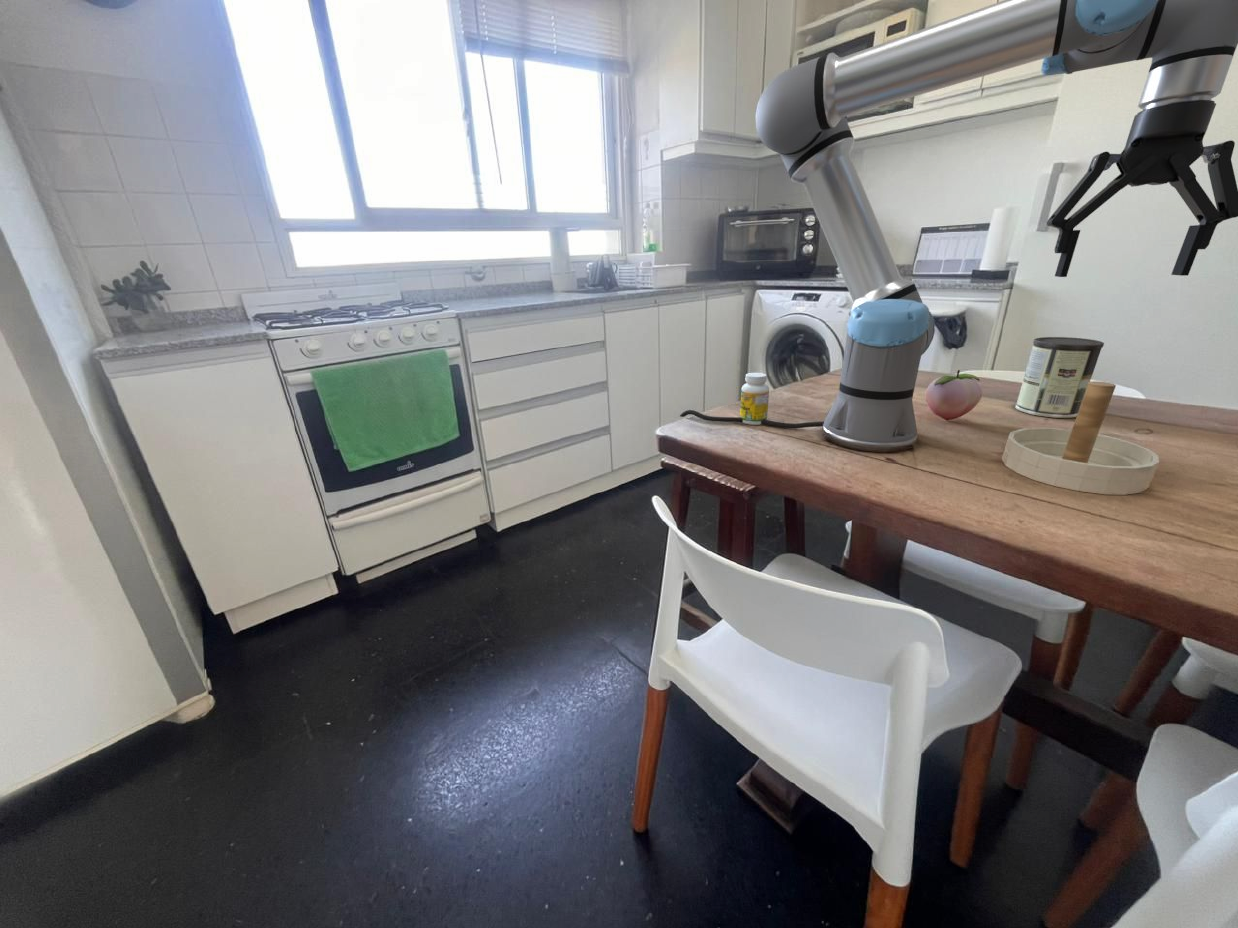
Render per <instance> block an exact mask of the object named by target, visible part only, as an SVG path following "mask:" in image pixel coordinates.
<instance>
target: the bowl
mask: <svg viewBox="0 0 1238 928" xmlns="http://www.w3.org/2000/svg"><path fill="white" fill-rule="evenodd" d="M1071 431H1072V429H1069V428H1058V427H1057V428H1056V427H1027V428H1026V427H1025V428H1018V429H1016V430H1013V431H1010V433H1009V434H1008V437H1007V440H1006V444H1005V447H1004V450H1003V454H1002V457H1001V461H1002V463H1003V464H1004V466H1005V467H1006V468H1008V469H1010V470H1011V471H1013V472H1015V473H1016V474H1018V475H1021V476H1023V477H1025V478H1027V479H1030V480H1032V481H1036V482H1039V483H1042V484H1046V485H1049V486H1051V487H1052V486H1053V487H1057V488H1061V489H1067V490H1071V491H1076V492H1082V493H1089V494H1090V493H1091V494H1097V495H1098V494H1099V495H1111V496H1112V495H1117V496H1126V495H1134V494H1139V493H1143V492H1144V491H1146V490H1148V489H1149V488H1150V486H1151V484H1152V481H1153V478H1154V476H1155V474H1156V471H1157V470H1158V467H1159V464H1160V457H1159V455H1158V454H1156V453H1155V452H1154V451H1152V450H1151V449H1149V448H1146V447H1144V446H1142V445H1139V444H1137V443H1135V442H1132V441H1128V440H1124V439H1121V438H1118V437H1115V436H1109V435H1105V434H1102V433H1101V434H1100V433H1098V436H1097V439H1096V441H1095V444H1094V447H1093V449H1092V452H1091V455H1090V458H1089V460H1088V463H1090V464H1088V463H1082V462H1077V461H1071V460H1066V459H1061V458H1063V455H1064V452H1065V449H1066V446H1067V443H1068V440H1069V437H1070V434H1071Z"/></svg>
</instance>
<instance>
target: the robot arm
mask: <svg viewBox="0 0 1238 928" xmlns="http://www.w3.org/2000/svg"><path fill="white" fill-rule="evenodd" d="M1237 47H1238V0H1001V1H999V2H995V3H992V4H990V5H988V6H984V7H982V8H979V9H976V10H973V11H971V12H967V13H964V14H962V15H959V16H956V17H953V18H950V19H948V20H944V21H942V22H939V23H936V24H933V25H930V26H928V27H925V28H922V29H919V30H916V31H912V32H911V33H908V34H904V35H902V36H899V37H896V38H893V39H890V40H888V41H884V42H882V43H880V44H876V45H873V46H871V47H868V48H865V49H862V50H860V51H859V50H858V51H857V52H854V53H851V54H847V55H845V56H842V57H840V56H839V55H837V54H836V53H835V52H829V53H826V54H823V55H821V56H819V57H815V58H812V59H809V60H808V61H807V60H806V61H805V62H802V63H799V64H796V65H794V66H792V67H790V68H787V69H785V70H783V71H781V72H780V73H779V74H777V75H776V76H775V77H774V78H773V79H772V80H771V81H770V82H769V83H768V84H767V86H766V87H765V88H764V90H763V91H762V93H761V96H760V97H759V100H758V102H757V106H756V110H755V129H756V132H757V136H758V137H759V139H760V141H761V142H762V144H763V145H764V146H765V147H766V148H768V149H769V150H771V151H773V152H775V153H777V154H779V155H780V157H781V160H782V162H783V164H784V167H785V168H786V172H787V173H788V176H789V178H790V180H791V183H794V184H797V185H802V186H803V187H804V190H805V193H806V194H807V197H808V199H809V201H810V204H811V207H812V209H813V210H814V213H815V215H816V218H817V220H818V222H819V225H820V228H821V230H822V231H823V234H824V237H825V239H826V241H827V243H828V246H829V249H830V251H831V253H832V255H833V258H834V261H835V262H836V265H837V267H838V269H839V271H840V274H841V276H842V278H843V281H844V283H845V285H846V289H847V290H848V293H849V295H850V296H851V300H852V303H851V306H850V308H849V310H848V316H849V319H848V321H847V324H846V337H845V347H844V353H843V359H842V366H841V373H840V380H839V387H838V393H837V396H836V397H835V399H834V402H833V403H832V406H831V407H830V409H829V411H828V413H827V415H826V417H825V420H824V421H823V420H821V421H808V422H807V421H806V422H798V423H796V422H795V423H791V422H790V423H789V422H780V421H774V420H769V419H767V420H762V421H761V424H760V425H766V426H770V427H776V428H784V429H803V428H804V429H805V428H817V427H822V430H821V431H822V432H821V434H822V437H823V438H824V439H826V440H827V441H829V442H830V443H833V444H835V445H837V446H839V447H844V448H847V449H852V450H856V451H863V452H871V453H874V452H875V453H895V452H896V453H897V452H903V451H906V450H909V449H912V448H913V447H914V445H915V444H916V442H917V438H918V428H917V427H918V426H917V421H916V416H915V410H914V403H913V397H914V392H915V388H916V382H917V379H918V372H919V369H920V364H921V358H922V356H923V355H924V354H925V353H926V352H927V350H928V349H929V348H930V346H931V344H932V342H933V340H934V337H935V332H936V328H935V327H936V324H935V323H936V322H935V319H934V316H933V314H932V312H931V311H930V308H929V306H927V305H926V304H925V303H923V300H922V298H921V295H920V293H919V290H918V289H917V286H916V284H915V282H914V281H912V280H909V279H906V278H904V277H902V276H901V274H900V271H899V269H898V266H897V264H896V262H895V259H894V257H893V254H892V252H891V250H890V247H889V246H888V245H889V244H888V243H887V240H886V237H885V236H884V233H883V230H882V228H881V226H880V224H879V221H878V219H877V217H876V214H875V211H874V209H873V207H872V205H871V202H870V200H869V197H868V195H867V193H866V190H865V188H864V186H863V183H862V181H861V178H860V176H859V174H858V171H857V169H856V167H855V164H854V162H853V159H852V157H851V153H852V151H853V148H854V145H855V142H856V140H855V138H854V136H853V133H852V131H851V128H850V125H849V123H848V116H852V115H856V114H859V113H862V112H866V111H869V110H873V109H876V108H881V107H883V106H886V105H887V106H888V105H890V104H893V103H896V102H901V101H903V100H907V99H910V98H914V97H917V96H921V95H924V94H927V93H931V92H934V91H938V90H941V89H944V88H947V87H948V88H949V87H951V86H955V85H959V84H962V83H965V82H969V81H972V80H975V79H978V78H982V77H986V76H989V75H992V74H996V73H999V72H1002V71H1003V72H1004V71H1007V70H1010V69H1013V68H1016V67H1020V66H1023V65H1027V64H1031V63H1034V62H1037V61H1041V60H1043V61H1042V64H1041V67H1040V71H1041V73H1042V75H1044V76H1055V75H1064V74H1065V75H1072V74H1073V73H1076V72H1082V71H1086V70H1087V71H1088V70H1091V69H1097V68H1102V67H1103V68H1104V67H1108V66H1113V65H1118V64H1124V63H1129V62H1134V61H1135V62H1136V61H1142V60H1145V59H1151V65H1150V67H1149V70H1148V73H1147V77H1146V80H1145V82H1144V86H1143V88H1142V92H1141V95H1140V98H1139V102H1138V105H1137V107H1138V108H1139V109H1140V110H1141V111H1139V112H1137V114H1136V115H1134V117H1133V120H1132V124H1131V126H1130V129H1129V133H1128V137H1127V139H1126V143H1125V146H1124V148H1123V150H1122V151H1121V153H1111V152H1109V151H1103V152H1100V153H1098V154H1096V155H1094V156H1093V157H1092V159H1091V161H1090V164H1089V166H1088V169H1087V171H1086V173H1085V174H1084V175H1083V177H1082V178H1081V179H1080V180H1079V181H1078V182H1077V183H1076V185H1075V186H1074V187H1073V189H1072V190H1071V191H1070V193H1069V194H1068V195H1067V196H1066V197H1065V198H1064V200H1063V201H1062V202H1061V203H1060V205H1059V206H1058V207H1057V208H1056V210H1055V211H1054V212H1053V213H1052V214H1051V216H1050V217H1048V219H1047V221H1046V225H1047V226H1048V227H1052V228H1055V229H1058V235H1057V239H1056V243H1055V246H1054V254H1060V257H1059V260H1058V263H1057V266H1056V269H1055V273H1054V277H1056V278H1067V276H1068V274H1069V270H1070V267H1071V263H1072V260H1073V257H1074V253H1075V251H1076V246H1077V243H1078V240H1079V236H1080V233H1081V229H1075V228H1076V227H1077V226H1078V225H1079V224H1081V223H1082V222H1083V221H1085V219H1087V218H1088V217H1089V216H1091V215H1092V214H1093V213H1094V212H1095V211H1096V210H1098V209H1099V208H1100V207H1102V205H1103V204H1105V203H1106V202H1107V201H1109V200H1110V199H1111V198H1112V197H1114V196H1115V195H1116V194H1117V193H1119V192H1120V191H1121V190H1122V189H1125V188H1126V187H1127V186H1129V187H1132V188H1133V187H1141V186H1144V185H1150V186H1160V185H1166V184H1169V185H1170V186H1171V187H1172V188H1174V189H1175V190H1176V192H1177V193H1178V195H1179V196H1180V198H1181V200H1183V202H1184V204H1185V205H1186V206H1187V207H1188V209H1189V210H1190V212H1191V214H1192V215H1193V217H1194V218H1195V219H1196V220H1197V222H1198V223H1199V224H1195V225H1189V227H1188V229H1187V232H1186V234H1185V237H1184V240H1183V242H1182V245H1181V247H1180V250H1179V253H1178V255H1177V258H1176V261H1175V264H1174V267H1173V269H1172V271H1171V276H1181V277H1183V276H1185V277H1186V276H1190V272H1191V270H1192V266H1193V264H1194V262H1195V259H1196V257H1197V255H1198V251H1199V250H1206V249H1207V248H1208V246H1209V245H1210V242H1211V240H1212V237H1213V235H1214V233H1215V230H1216V228H1217V225H1219V224H1221V223H1222V222H1224V221H1227V220H1230V219H1232V218H1233V219H1235V218H1238V186H1237V180H1236V176H1235V170H1234V167H1233V162H1232V157H1233V154H1234V148H1235V146H1236V145H1235V144H1236V142H1235V141H1234V140H1232V139H1231V140H1226V141H1223V142H1220V143H1216V144H1212V145H1205V146H1204V143H1203V142H1204V137H1205V135H1206V133H1207V131H1208V128H1209V125H1210V122H1211V120H1212V116H1213V114H1214V111H1215V108H1216V106H1217V103H1216V101H1215V100H1212V99H1214V98H1216V97H1218V96H1219V95H1220V94H1221V93H1222V90H1223V86H1224V85H1225V81H1226V80H1227V79H1226V78H1227V75H1228V73H1229V70H1230V67H1231V64H1232V61H1233V58H1234V55H1235V53H1236V50H1237ZM1200 158H1202V159H1203V163H1205V164H1207V172H1208V177H1209V181H1210V185H1211V190H1212V194H1213V198H1214V202H1215V205H1214V203H1213V201H1212V200H1211V198H1210V197H1209V196H1208V194H1207V193H1206V191H1205V190H1204V188H1202V186H1201V184H1200V183H1199V181H1198V180H1197V175H1196V174H1195V172H1194V171H1193V169H1192V168H1191V166H1192V165H1193V164H1194V163H1195V162H1196V161H1197V160H1199V159H1200ZM1114 164H1115V165H1116V167H1117V169H1118V171H1119V175H1117V176H1116V177H1115V178H1113V180H1111V181H1110V182H1108V184H1106V186H1105V187H1104V188H1102V189H1101V190H1100V191H1099V192H1098V193H1097V194H1096V195H1094V196H1093V197H1092V198H1091V199H1089V200H1088V201H1087V202H1086V203H1085V204H1083V205H1082V206H1081V207H1080V208H1078V209H1077V210H1076V211H1075V212H1074V213H1073V214H1071V215H1070V216H1069V217H1068V218H1067V219H1066V217H1067V216H1068V215H1069V214H1070V213H1071V211H1072V210H1073V209H1074V208H1075V207H1076V205H1078V203H1079V202H1080V201H1081V200H1082V198H1083V197H1084V196H1085V195H1086V194H1087V192H1088V191H1089V190H1090V189H1091V187H1092V186H1093V185H1094V184H1095V183H1096V182H1097V180H1098V179H1099V178H1100V177H1101V175H1102V173H1103V172H1105V171H1107V170H1109V169H1110V168H1111V167H1112V166H1113V165H1114ZM688 415H692V416H695V417H697V418H699V419H700V420H704V421H709V422H718V423H742V422H743V419H742V418H741V417H740V416H738V417H737V416H732V417H731V416H711V415H706V414H703V413H701V412H698V411H696V410H693V409H687V410H685V411H683V412H682V413H681V414H679V417H680V418H684V417H687V416H688Z"/></svg>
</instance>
